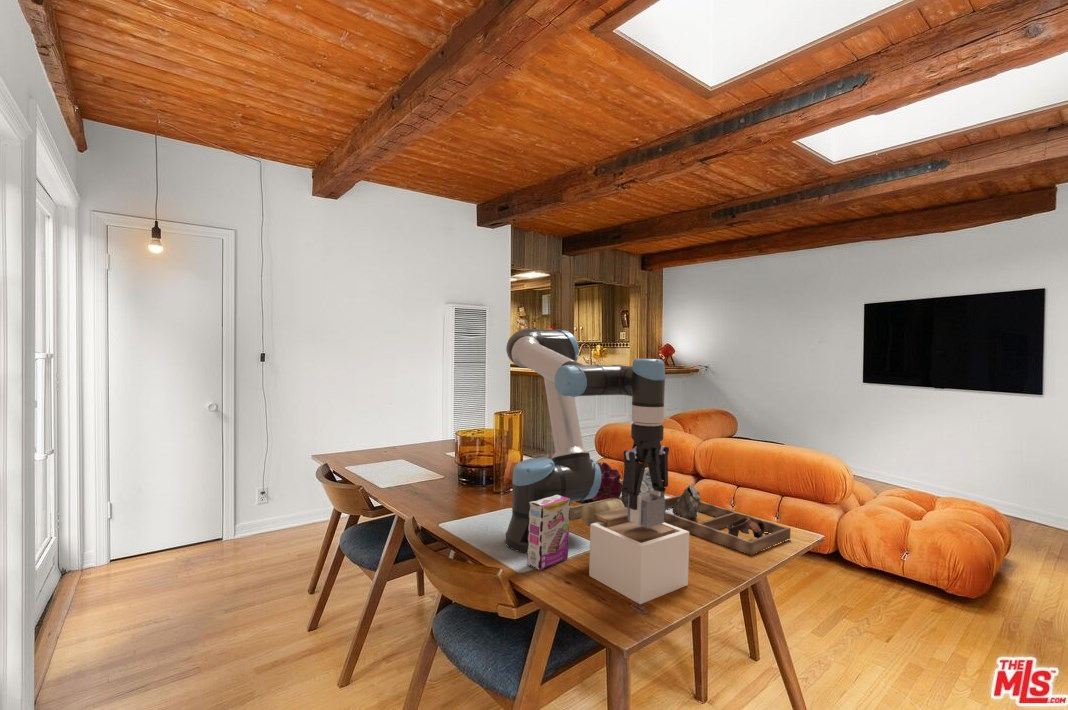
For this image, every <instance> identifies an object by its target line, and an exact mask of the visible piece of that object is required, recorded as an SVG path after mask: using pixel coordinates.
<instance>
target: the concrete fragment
mask: <svg viewBox="0 0 1068 710" xmlns="http://www.w3.org/2000/svg"><path fill="white" fill-rule="evenodd" d="M700 501H701V497H700V492H699V491H698V489H697V487H695V486H694V485H690V484H689V485H688V486H687V487H686V488H685V489H684V490H683V492H682V493H681V498H680V499H678V500H677V501H676V503H675V505H674V506H673V508H672V511H673V513H674V514H676V513H677V514H678V515H680V516H681V517H682V518H685V519H688V520H691V519H697V518H698V511H697V510H698V508H699V505H700ZM677 514H676V515H677ZM678 515H677V516H678ZM680 516H679V517H680Z"/></svg>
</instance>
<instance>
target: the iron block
mask: <svg viewBox="0 0 1068 710" xmlns="http://www.w3.org/2000/svg"><path fill="white" fill-rule="evenodd" d="M639 496H642V497H641V524H638V525H641V526H644V527H646V528H648V527H651V526H655V525H658V524H662V523H664V497H665V496H664V497H661V496H657V495H654V494H651V493H648V492H641V493H639ZM628 521H630V508H629V495H628ZM630 522H631V521H630Z"/></svg>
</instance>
